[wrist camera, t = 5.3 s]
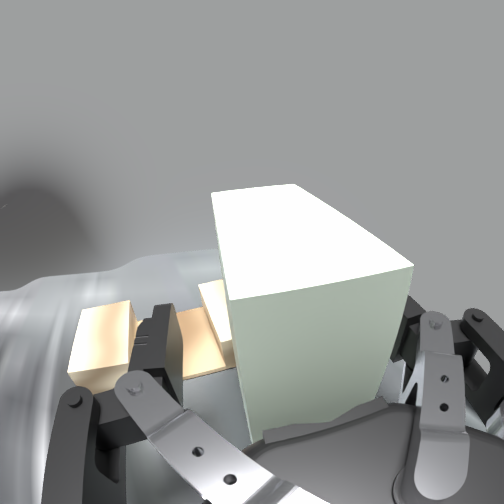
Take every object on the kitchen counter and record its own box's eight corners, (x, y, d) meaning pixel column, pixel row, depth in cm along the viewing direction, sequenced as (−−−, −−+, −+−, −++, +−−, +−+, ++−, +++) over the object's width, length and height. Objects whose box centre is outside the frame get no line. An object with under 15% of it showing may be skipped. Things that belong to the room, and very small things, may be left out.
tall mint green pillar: (262, 491, 9) (229, 300, 4) (237, 373, 16) (211, 193, 12) (338, 472, 10) (414, 265, 5) (294, 363, 17) (294, 184, 12)
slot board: (84, 397, 14) (67, 372, 13) (93, 333, 20) (82, 309, 19) (287, 350, 18) (287, 322, 17) (251, 297, 24) (249, 272, 23)
